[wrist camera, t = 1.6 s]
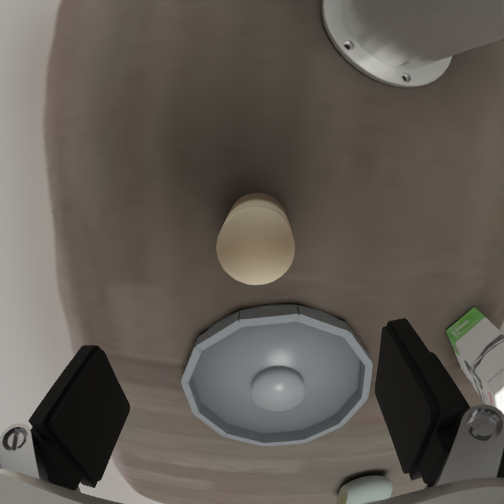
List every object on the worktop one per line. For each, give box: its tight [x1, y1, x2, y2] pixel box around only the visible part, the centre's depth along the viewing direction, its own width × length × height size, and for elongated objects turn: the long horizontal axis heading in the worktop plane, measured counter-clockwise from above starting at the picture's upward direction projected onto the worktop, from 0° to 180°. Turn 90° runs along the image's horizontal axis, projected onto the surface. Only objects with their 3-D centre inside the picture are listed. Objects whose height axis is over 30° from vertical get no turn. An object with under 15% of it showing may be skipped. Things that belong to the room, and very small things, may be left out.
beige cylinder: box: [216, 192, 295, 285], centre depth 23 cm, size 5×5×7 cm
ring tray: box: [181, 304, 373, 446], centre depth 31 cm, size 20×20×2 cm
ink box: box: [446, 307, 504, 414], centre depth 25 cm, size 9×5×12 cm, turn 39°
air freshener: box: [337, 475, 392, 504], centre depth 37 cm, size 11×8×10 cm
